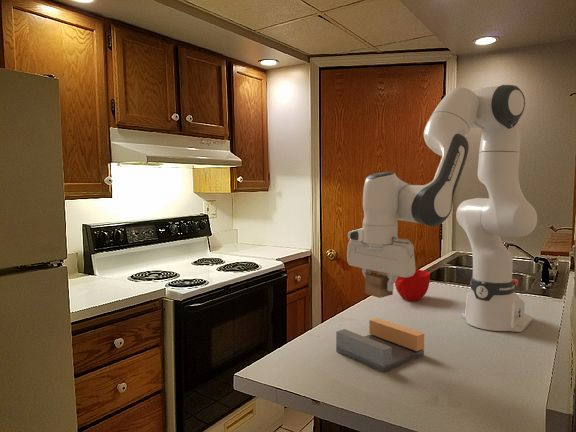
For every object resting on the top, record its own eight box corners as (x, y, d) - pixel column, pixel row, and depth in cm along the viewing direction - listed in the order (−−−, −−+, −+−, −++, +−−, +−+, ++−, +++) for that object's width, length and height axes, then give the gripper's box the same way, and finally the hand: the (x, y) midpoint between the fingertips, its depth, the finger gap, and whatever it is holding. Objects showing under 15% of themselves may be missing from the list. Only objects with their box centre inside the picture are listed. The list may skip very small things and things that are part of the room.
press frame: (376, 337, 125) (376, 318, 124) (423, 355, 112) (424, 334, 112) (336, 351, 115) (336, 331, 115) (383, 372, 103) (383, 350, 102)
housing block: (377, 290, 116) (378, 271, 116) (392, 294, 112) (393, 274, 112) (365, 293, 113) (365, 274, 113) (379, 297, 109) (380, 277, 109)
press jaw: (376, 331, 125) (376, 317, 124) (424, 348, 112) (424, 333, 112) (369, 333, 123) (369, 319, 123) (417, 351, 110) (417, 336, 110)
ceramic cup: (382, 302, 159) (382, 275, 158) (403, 292, 172) (403, 267, 171) (416, 308, 151) (416, 280, 150) (435, 297, 164) (435, 271, 163)
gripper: (421, 238, 105) (420, 294, 106) (359, 230, 121) (359, 279, 122) (405, 241, 101) (404, 299, 102) (343, 232, 117) (343, 282, 119)
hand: (379, 288), depth 112 cm, fingers closed on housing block, 5 cm apart
